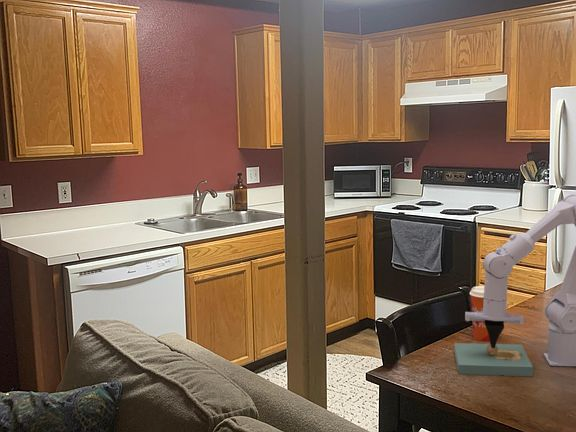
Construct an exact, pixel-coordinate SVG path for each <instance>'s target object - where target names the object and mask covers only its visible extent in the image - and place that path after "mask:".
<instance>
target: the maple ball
mask: <svg viewBox="0 0 576 432" xmlns="http://www.w3.org/2000/svg"><path fill="white" fill-rule="evenodd" d="M488 344H489V345H487V347H486V351H487V353H488V354H490V355H495V354H496V353H497V352H498V347H497V346H496V345H495V348H491V344H490V343H488Z"/></svg>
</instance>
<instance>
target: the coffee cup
mask: <svg viewBox="0 0 576 432" xmlns="http://www.w3.org/2000/svg"><path fill="white" fill-rule="evenodd" d="M469 295H470V307H471V309H470V310H471V312H483V304H484V285H478V286H477V285H476V286H473V287H472V288H471V290H470V291H469ZM472 333H473V335H472V336H473V339H474V340H475V341H480V342H490V339H489V335H488V331H487V328H486V326H485V323H484V321H472Z"/></svg>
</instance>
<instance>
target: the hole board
mask: <svg viewBox="0 0 576 432" xmlns="http://www.w3.org/2000/svg"><path fill="white" fill-rule="evenodd" d="M489 344H490V343H464V342H461V343H459V342H453V352H454V356H455V357H454V358H455V362H456V367H457V373H458V375H471V376H472V375H473V376H474V375H475V376H500V375H504V376H507V377H508V376H510V377H512V376H513V377H534V366H533V365H532V364H533V363H532V362H531V361H530V358H529V357H528V355H527V352H526V351H525V349H524V347H523V345H522V344H515V343H514V344H510V343H509V344H507V343H506V344H504V343H503V344H501V343H496V346H497V347H498V352H497V353H496V354H495V355H490V354H488V353H487V351H486V347H487V345H489ZM504 376H503V377H504Z"/></svg>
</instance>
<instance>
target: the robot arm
mask: <svg viewBox="0 0 576 432" xmlns="http://www.w3.org/2000/svg"><path fill="white" fill-rule="evenodd" d="M572 224H573V225H574V227H575V228H576V194H569V195H567V196H565V197H564V198H563V199H562V200H560V201H559V202H557V203H556V204H555V205H554V206H553V208H552V209H550V211H548V212H547V213H546V214H545V215H544V216H543V217H541V219H539V220H538V221H537V222H536V223H534V225H533V226H532V227H530V228H529V229H528V231H526V232H525V233H524V232H523V233H519V232H518V233H517V234H511V235H510V236H509V240H507V241H506V242H505V243H504V244H503V245H502V246H500V247H496V248H495V251H493V252H490V253H488V254H487V255H485V257H484V259H483V261H482V262H481V264H482V267H483V269H484V271H485V275H484V276H485V277H484V285H483V286H484V304H483V312H472V311H465V312H464V313H465V314H464V317H465V318H464V319H465V322H470V321H484V323H485V326H486V328H487V331H488V335H489V339H490V341H489V344H491V348H495V345H496V344H497V342H498V339H499V337H500V335H501V334H502V332H503V330H504V329H505V324H507V323H508V324H519V325H522V326H523V325H524V321H525V317H524V316H523V315H521V314H512V313H507V305H508V304H507V300H508V282H509V281H508V280H509V276H510V274H511V273H513V272H512V271H513V267H514V266H515V265H517V264H518V263H519V262H520V261H522V260H523V259H524V258H526V257H527V256H528V255H529V254H530V253H532V252H533V251H534V249H535V243H536V242H538V241H540V240H541V239H542V238H544V237H545V236H546V235H548V234H549V233H551V232H552V231H553V230H555V229H556V228H558V227H560V225H572ZM544 315H545V318H547V320H548V325H547V327H548V329H547V330H548V332H547V352H544V353H543V357H544V358H545V360H546V361H547V363H548V364H549V366H551V367H552V366H554V367H576V246H575V247H574V249H573V253H572V255H571V259H570V262H569V264H568V267H567V269H566V272H565V275H564V277H563V281H562V283H561V287H560V288H559V290H558V291H556V292H555V293H554V294H553V295H552V299H550V301H549V302H548V303H547V304H546V305H545V309H544Z"/></svg>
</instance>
